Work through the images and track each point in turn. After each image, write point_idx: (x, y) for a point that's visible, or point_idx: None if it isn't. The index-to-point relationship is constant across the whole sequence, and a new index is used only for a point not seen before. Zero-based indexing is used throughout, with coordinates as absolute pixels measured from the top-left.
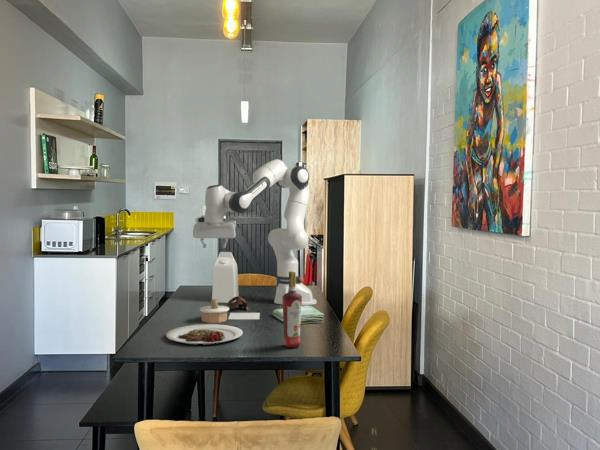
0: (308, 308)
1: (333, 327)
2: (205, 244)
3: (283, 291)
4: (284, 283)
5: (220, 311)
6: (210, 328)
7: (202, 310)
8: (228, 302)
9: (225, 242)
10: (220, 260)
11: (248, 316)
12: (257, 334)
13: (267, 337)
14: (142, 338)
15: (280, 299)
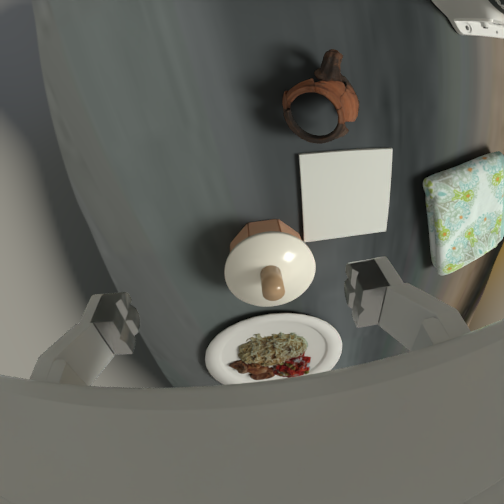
0: (497, 203)
1: (489, 264)
2: (131, 349)
3: (475, 11)
4: (497, 9)
5: (293, 297)
6: (274, 322)
7: (241, 299)
8: (287, 100)
9: (399, 338)
10: None
11: (360, 202)
12: (366, 329)
13: (379, 339)
14: (172, 370)
15: (449, 5)
